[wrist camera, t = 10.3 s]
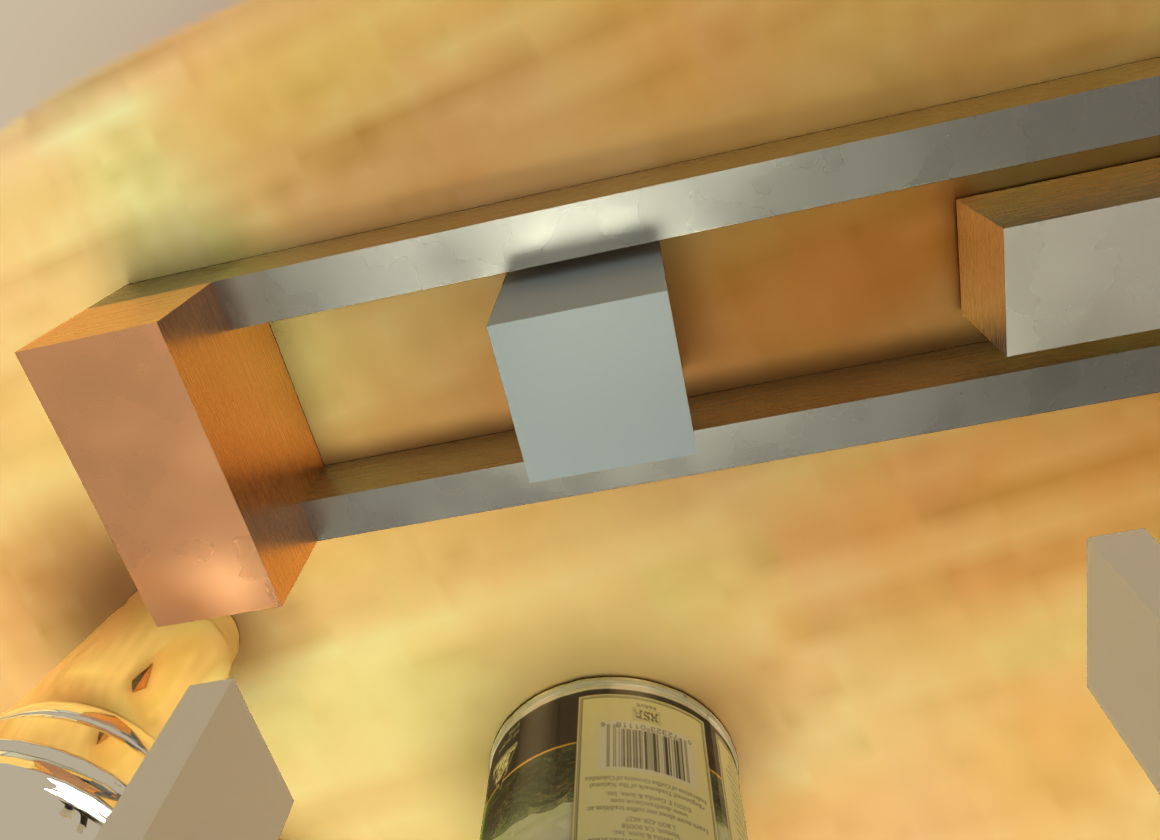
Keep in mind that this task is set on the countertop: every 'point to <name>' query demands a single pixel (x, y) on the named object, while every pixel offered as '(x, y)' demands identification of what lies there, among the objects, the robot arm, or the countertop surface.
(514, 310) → the block
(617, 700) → the coffee can
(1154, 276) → the silver metal slider block
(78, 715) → the cup with straw
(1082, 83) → the channel
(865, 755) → the countertop surface
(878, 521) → the countertop surface
